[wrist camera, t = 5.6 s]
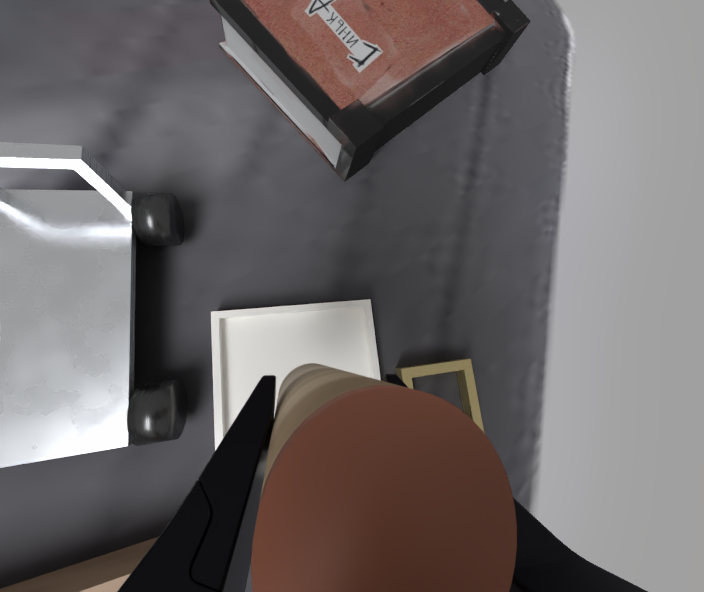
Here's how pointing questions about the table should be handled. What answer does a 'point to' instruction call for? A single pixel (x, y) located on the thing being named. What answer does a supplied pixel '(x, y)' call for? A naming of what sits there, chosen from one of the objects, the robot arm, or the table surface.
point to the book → (363, 62)
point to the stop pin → (379, 493)
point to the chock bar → (89, 573)
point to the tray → (285, 348)
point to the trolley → (77, 313)
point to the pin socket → (464, 380)
